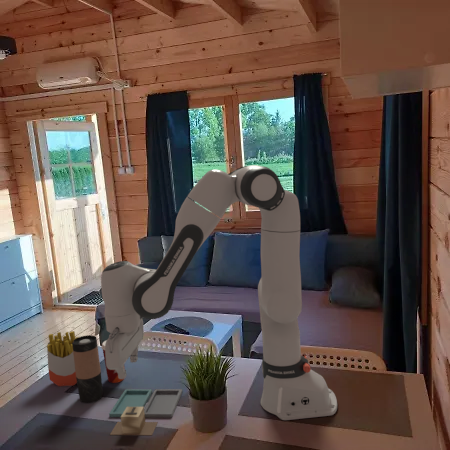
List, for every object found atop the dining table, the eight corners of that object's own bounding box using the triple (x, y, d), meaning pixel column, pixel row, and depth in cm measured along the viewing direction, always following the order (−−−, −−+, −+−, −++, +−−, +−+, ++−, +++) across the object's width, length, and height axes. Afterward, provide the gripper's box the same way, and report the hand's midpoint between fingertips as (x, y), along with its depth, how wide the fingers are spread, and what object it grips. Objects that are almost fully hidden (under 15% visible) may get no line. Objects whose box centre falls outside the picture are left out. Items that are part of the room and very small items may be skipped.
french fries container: (81, 385, 152) (74, 335, 150) (50, 387, 153) (43, 337, 150) (85, 379, 157) (79, 330, 154) (55, 380, 157) (49, 332, 155)
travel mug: (108, 396, 144) (101, 338, 141) (88, 407, 138) (80, 346, 135) (94, 389, 149) (87, 333, 146) (74, 400, 143) (66, 341, 140)
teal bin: (152, 393, 144) (152, 389, 144) (138, 418, 130) (138, 414, 130) (125, 393, 145) (125, 389, 145) (109, 418, 131) (109, 413, 131)
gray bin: (182, 393, 142) (182, 389, 142) (172, 419, 129) (171, 414, 129) (155, 393, 144) (155, 389, 143) (142, 418, 130) (141, 414, 130)
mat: (158, 424, 127) (157, 422, 127) (152, 437, 121) (151, 435, 121) (117, 423, 128) (117, 421, 128) (110, 436, 123) (109, 434, 122)
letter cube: (145, 422, 127) (143, 406, 126) (140, 433, 122) (138, 416, 121) (128, 422, 127) (126, 406, 127) (122, 433, 122) (120, 416, 122)
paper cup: (122, 386, 150) (117, 347, 148) (101, 385, 152) (96, 346, 150) (131, 374, 158) (127, 337, 156) (111, 374, 159) (107, 337, 157)
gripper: (120, 336, 109) (126, 388, 111) (145, 308, 129) (150, 352, 131) (95, 337, 110) (102, 389, 112) (124, 309, 130) (129, 353, 132)
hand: (128, 369), depth 122 cm, fingers open, 8 cm apart
